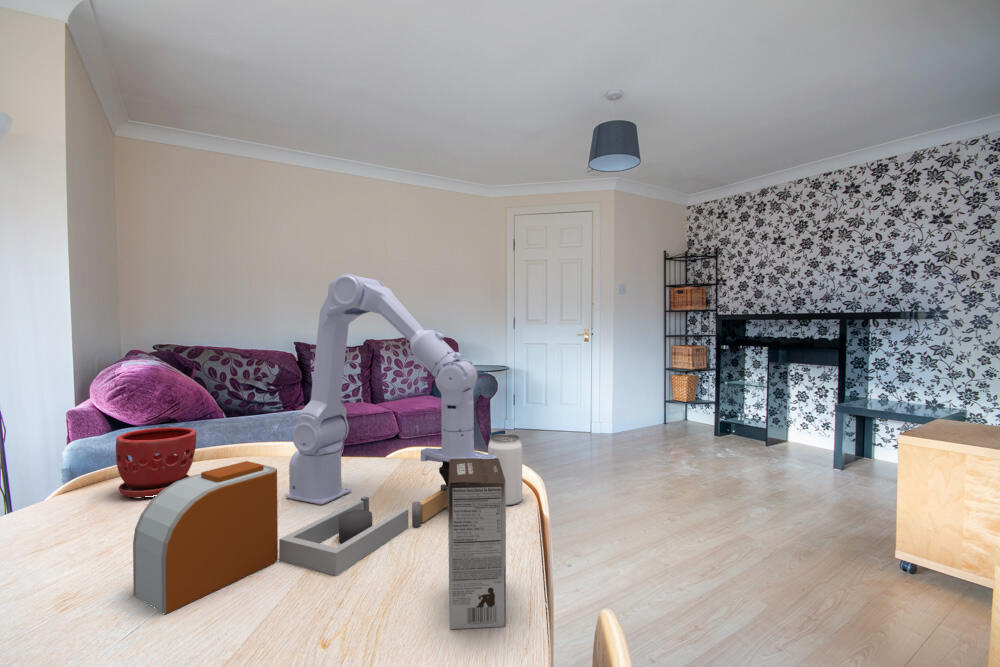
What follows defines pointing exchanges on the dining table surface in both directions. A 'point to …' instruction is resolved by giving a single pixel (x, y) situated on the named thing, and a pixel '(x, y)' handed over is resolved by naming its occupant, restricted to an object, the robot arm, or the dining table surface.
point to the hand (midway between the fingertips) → (458, 504)
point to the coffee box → (477, 543)
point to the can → (509, 464)
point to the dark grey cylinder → (353, 524)
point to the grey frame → (335, 560)
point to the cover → (429, 506)
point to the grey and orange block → (205, 534)
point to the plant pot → (154, 459)
